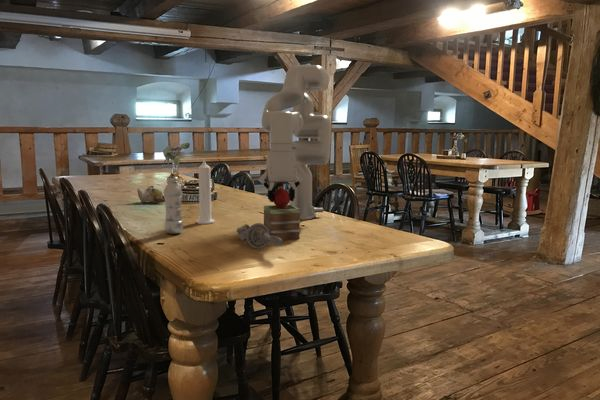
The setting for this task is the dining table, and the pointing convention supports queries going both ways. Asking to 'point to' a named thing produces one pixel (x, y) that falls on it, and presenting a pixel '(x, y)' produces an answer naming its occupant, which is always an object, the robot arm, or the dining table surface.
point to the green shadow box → (282, 221)
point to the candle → (205, 194)
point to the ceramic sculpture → (151, 195)
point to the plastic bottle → (173, 206)
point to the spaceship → (257, 235)
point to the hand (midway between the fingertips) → (281, 200)
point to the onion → (281, 198)
